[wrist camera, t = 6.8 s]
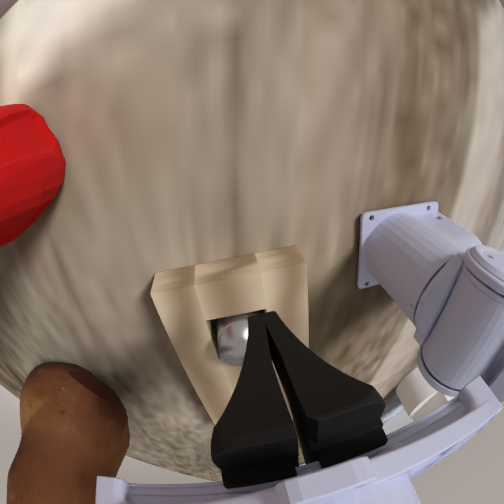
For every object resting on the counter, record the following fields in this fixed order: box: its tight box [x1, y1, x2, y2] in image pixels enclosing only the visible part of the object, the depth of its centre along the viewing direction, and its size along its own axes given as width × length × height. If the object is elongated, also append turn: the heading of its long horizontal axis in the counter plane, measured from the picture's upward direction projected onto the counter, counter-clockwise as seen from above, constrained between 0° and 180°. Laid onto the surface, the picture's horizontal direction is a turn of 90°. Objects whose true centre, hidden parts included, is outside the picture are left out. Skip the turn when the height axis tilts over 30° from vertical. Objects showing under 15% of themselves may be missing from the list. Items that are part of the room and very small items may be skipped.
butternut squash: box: [7, 363, 130, 504], centre depth 17 cm, size 14×13×25 cm
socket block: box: [150, 245, 309, 425], centre depth 28 cm, size 12×24×3 cm, turn 8°
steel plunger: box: [216, 311, 259, 366], centre depth 24 cm, size 4×4×4 cm
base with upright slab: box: [396, 368, 455, 421], centre depth 35 cm, size 9×9×12 cm
